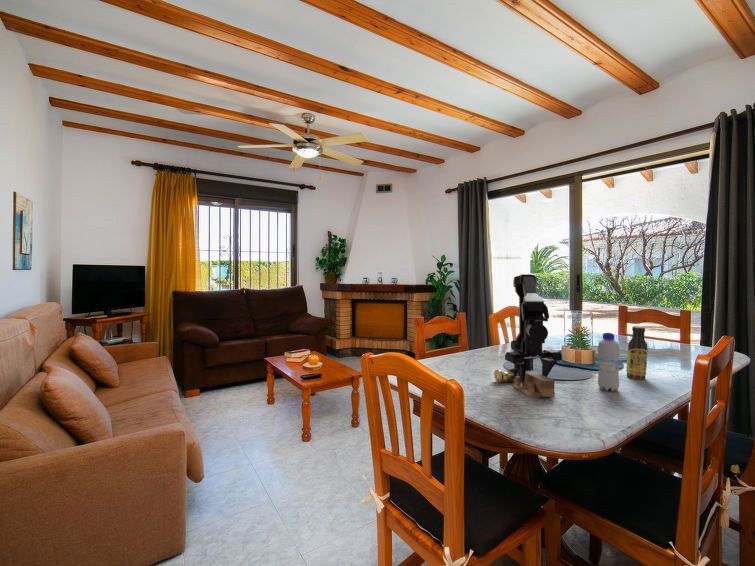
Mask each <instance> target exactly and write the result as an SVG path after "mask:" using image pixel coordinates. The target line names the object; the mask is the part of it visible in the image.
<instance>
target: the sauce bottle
mask: <svg viewBox="0 0 755 566" xmlns="http://www.w3.org/2000/svg"><path fill="white" fill-rule="evenodd" d="M631 329H632V336H631V339H630V340H629V342H628V344H627V345H628V347H627V348H628V349H627V358H626V377H627V378H629V379H633V380H642V381H643V380H646V376H647V367H648V366H647V365H648V343H647V342H646V340H645V332H646V327H643V326H632V328H631Z"/></svg>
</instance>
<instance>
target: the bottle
mask: <svg viewBox="0 0 755 566" xmlns="http://www.w3.org/2000/svg"><path fill="white" fill-rule="evenodd" d="M620 349H621V348H620V344H619V342H618V341H615V334H614V333H612V332H603V334H602V340H599V341H598V345H597V355H598V377H597V384H598V387H599V388H600V390H602V391H603V390H605V391H606V392H608V391H609V390H610V391H611V392H616V391H618V390H619V388H620V376H619V369H620V368H619V367H620V366H619V361H620V360H619V359H620V355H621V350H620Z"/></svg>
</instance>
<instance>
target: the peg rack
mask: <svg viewBox="0 0 755 566" xmlns="http://www.w3.org/2000/svg"><path fill="white" fill-rule="evenodd" d="M514 382H515V383H513V384H512V385H513V388H515V389H516V390H519V391H521V392H522V393H523V394H525V395H527V396H529V397H530V398H533V399H536V398H546V397H550V398H551V396H542V395H540V394H538V393H536V392H534V384H533V383H528V388H527V387H525V386H523V385H522V383H521V379H520V377H519V376H515V379H514ZM553 397H556V392H555V391H554V396H553Z"/></svg>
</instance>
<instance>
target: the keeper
mask: <svg viewBox="0 0 755 566" xmlns="http://www.w3.org/2000/svg"><path fill="white" fill-rule="evenodd" d="M511 371H512V372H513V373H514V377H515V376H519V373H518V370H517V368H514V367H512V368H507V372H511ZM519 377H520V376H519ZM514 380H515V378H514ZM521 383H522V381H521Z"/></svg>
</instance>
